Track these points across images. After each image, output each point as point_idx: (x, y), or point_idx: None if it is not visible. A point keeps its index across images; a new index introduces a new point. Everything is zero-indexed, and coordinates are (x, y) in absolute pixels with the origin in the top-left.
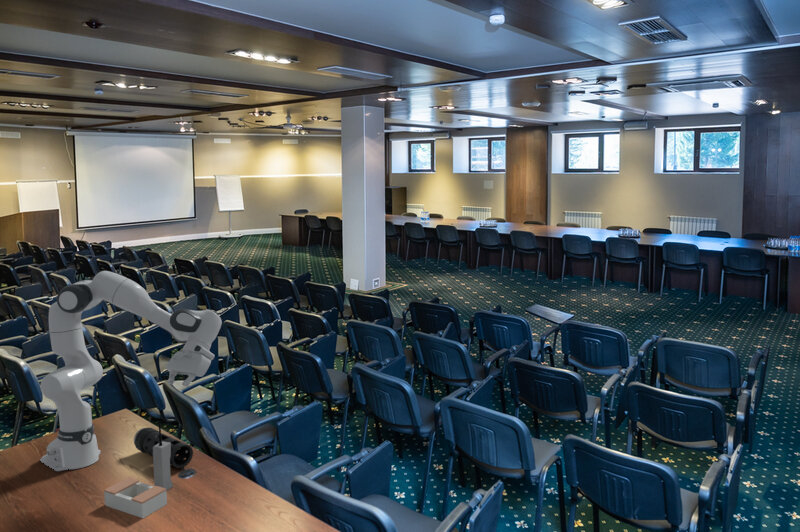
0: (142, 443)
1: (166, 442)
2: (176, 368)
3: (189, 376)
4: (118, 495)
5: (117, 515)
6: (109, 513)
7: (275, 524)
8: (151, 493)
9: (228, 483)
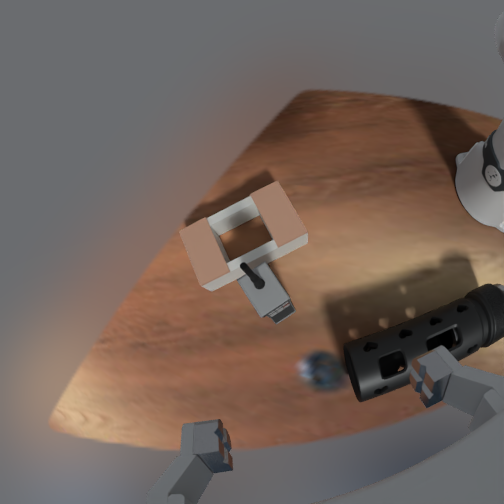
0: (470, 297)
1: (271, 306)
2: (458, 461)
3: (154, 489)
4: (243, 201)
5: None
6: None
7: (66, 392)
8: (200, 254)
9: None
